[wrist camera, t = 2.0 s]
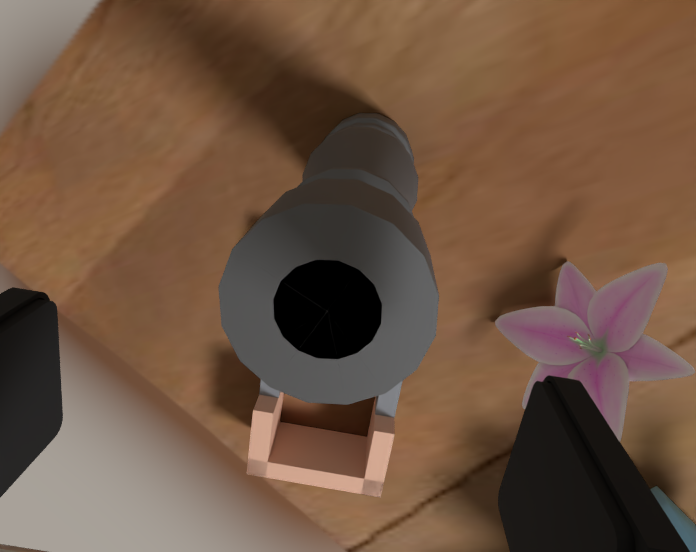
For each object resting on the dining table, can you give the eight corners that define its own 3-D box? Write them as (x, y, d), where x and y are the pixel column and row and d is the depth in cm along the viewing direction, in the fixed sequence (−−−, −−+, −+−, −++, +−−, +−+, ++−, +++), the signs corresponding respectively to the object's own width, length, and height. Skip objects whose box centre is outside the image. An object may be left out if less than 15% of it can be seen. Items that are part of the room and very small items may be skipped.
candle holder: (405, 104, 35) (433, 171, 12) (418, 195, 38) (462, 399, 14) (314, 121, 36) (178, 213, 13) (332, 209, 38) (241, 424, 15)
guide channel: (282, 235, 39) (268, 257, 35) (423, 258, 39) (427, 284, 34) (261, 433, 46) (246, 474, 41) (381, 453, 46) (380, 497, 41)
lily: (656, 231, 38) (652, 235, 30) (717, 388, 37) (731, 437, 29) (498, 282, 44) (460, 297, 36) (547, 418, 44) (519, 465, 35)
